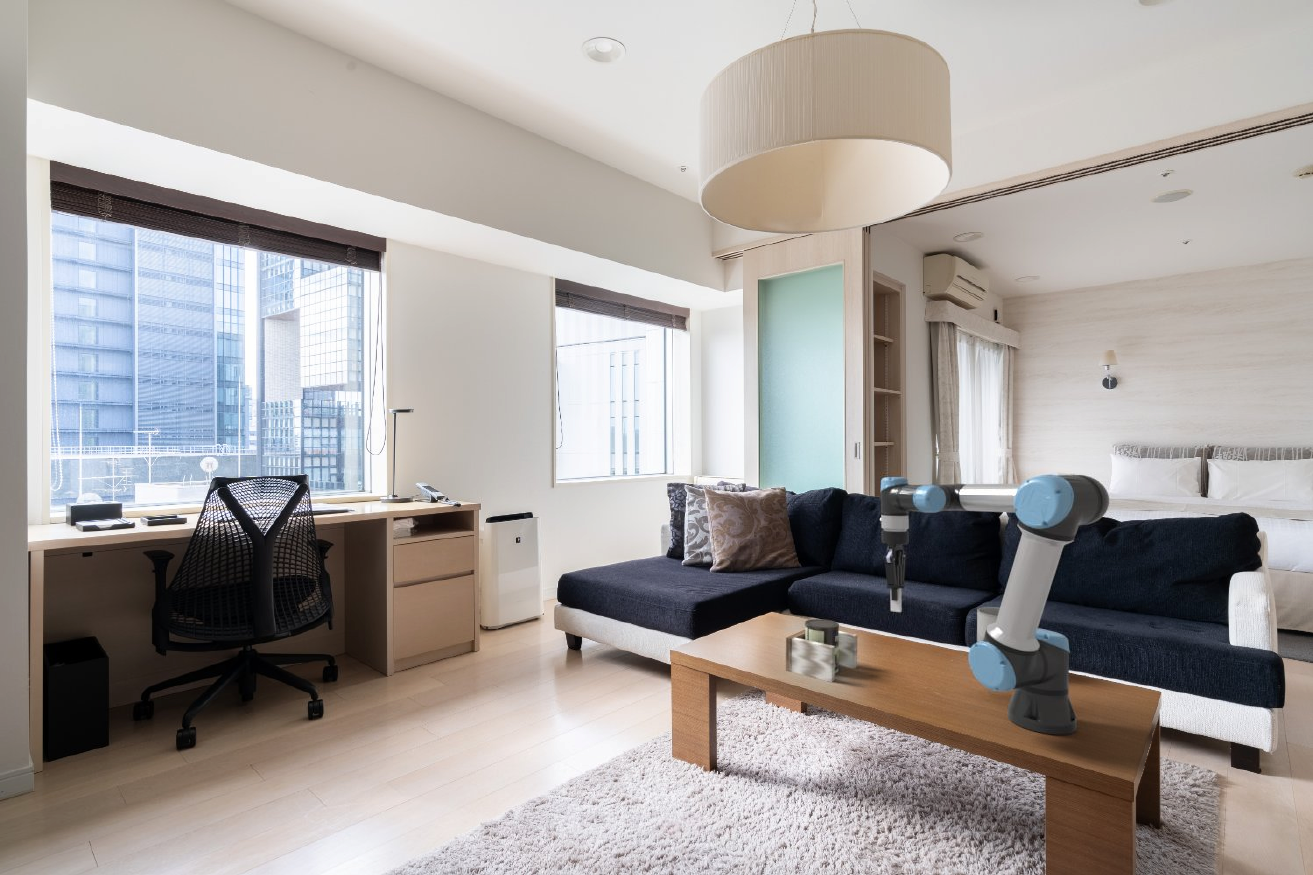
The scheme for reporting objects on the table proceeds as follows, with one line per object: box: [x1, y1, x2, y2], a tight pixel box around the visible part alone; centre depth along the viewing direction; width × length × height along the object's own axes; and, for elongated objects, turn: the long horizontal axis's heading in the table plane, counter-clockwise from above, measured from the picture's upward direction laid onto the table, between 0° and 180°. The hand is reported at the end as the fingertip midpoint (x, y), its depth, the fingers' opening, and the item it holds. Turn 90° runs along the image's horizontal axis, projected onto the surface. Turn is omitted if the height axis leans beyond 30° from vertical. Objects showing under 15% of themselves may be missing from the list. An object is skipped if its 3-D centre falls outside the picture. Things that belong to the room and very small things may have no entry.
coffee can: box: [804, 618, 840, 674], centre depth 207 cm, size 10×10×14 cm
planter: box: [976, 606, 1000, 643], centre depth 209 cm, size 13×13×18 cm
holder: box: [785, 629, 858, 683], centre depth 207 cm, size 15×18×10 cm
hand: (896, 611), depth 195 cm, fingers closed
